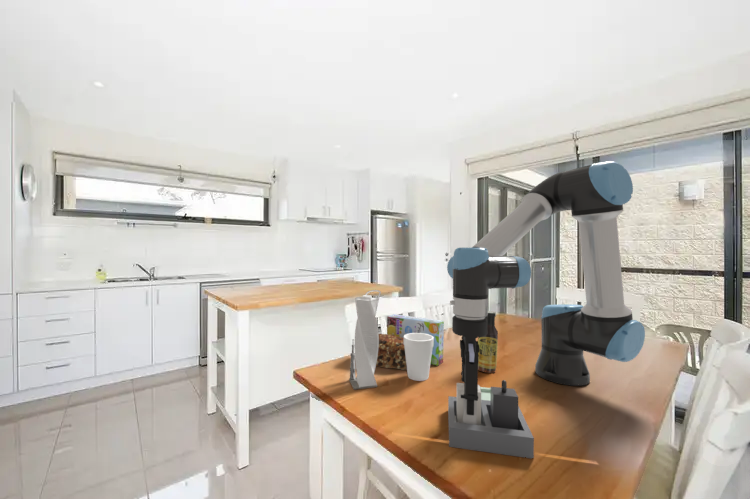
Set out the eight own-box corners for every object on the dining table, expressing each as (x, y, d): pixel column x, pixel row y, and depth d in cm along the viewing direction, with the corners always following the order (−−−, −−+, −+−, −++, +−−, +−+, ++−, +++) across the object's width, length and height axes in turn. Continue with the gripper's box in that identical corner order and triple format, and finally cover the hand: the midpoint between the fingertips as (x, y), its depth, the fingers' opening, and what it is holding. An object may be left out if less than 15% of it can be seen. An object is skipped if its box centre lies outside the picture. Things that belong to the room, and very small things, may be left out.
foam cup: (432, 386, 93) (433, 342, 93) (401, 383, 95) (402, 340, 95) (433, 373, 102) (433, 333, 102) (405, 371, 104) (405, 332, 104)
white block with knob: (478, 424, 72) (479, 373, 72) (480, 434, 68) (481, 380, 68) (456, 421, 73) (456, 371, 73) (456, 431, 69) (457, 377, 69)
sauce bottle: (477, 372, 103) (477, 312, 103) (476, 366, 110) (477, 309, 110) (498, 375, 102) (499, 313, 102) (496, 368, 108) (497, 310, 108)
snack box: (444, 361, 114) (444, 320, 114) (438, 366, 109) (438, 323, 109) (392, 351, 125) (393, 313, 125) (385, 355, 120) (386, 315, 120)
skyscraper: (375, 377, 99) (376, 288, 99) (383, 388, 91) (384, 291, 91) (349, 379, 97) (350, 289, 97) (354, 391, 89) (355, 292, 89)
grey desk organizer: (517, 420, 75) (518, 370, 75) (533, 458, 61) (534, 397, 61) (448, 412, 78) (448, 364, 78) (449, 446, 65) (449, 388, 64)
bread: (354, 364, 110) (355, 336, 110) (366, 355, 120) (366, 328, 120) (406, 372, 104) (407, 342, 104) (413, 361, 114) (414, 334, 114)
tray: (494, 393, 89) (494, 388, 89) (503, 416, 76) (503, 411, 76) (458, 389, 91) (458, 384, 91) (460, 411, 79) (460, 406, 78)
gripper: (451, 307, 80) (450, 398, 80) (453, 324, 62) (452, 442, 62) (482, 309, 79) (481, 401, 79) (493, 327, 60) (492, 447, 60)
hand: (468, 419), depth 70 cm, fingers open, 6 cm apart
